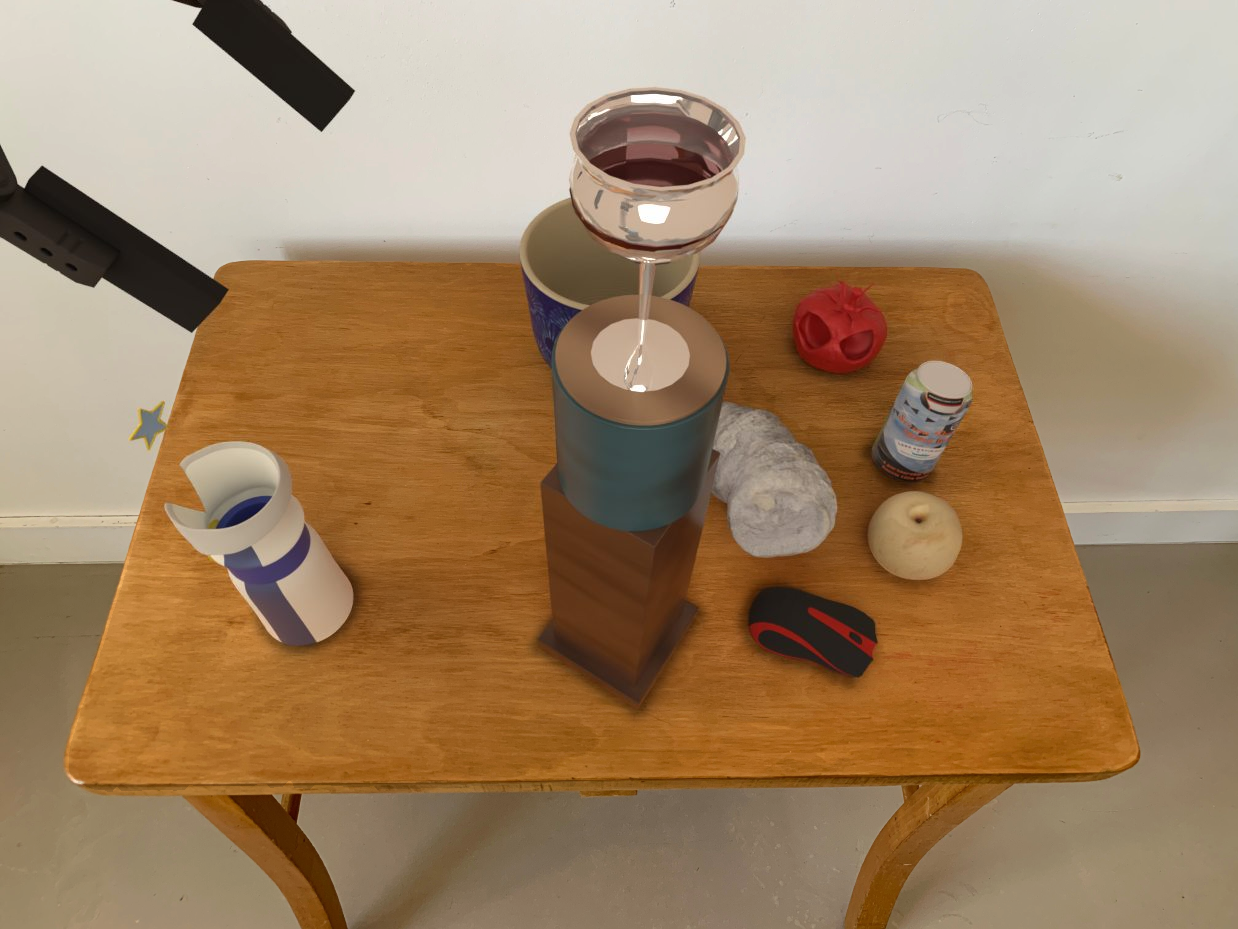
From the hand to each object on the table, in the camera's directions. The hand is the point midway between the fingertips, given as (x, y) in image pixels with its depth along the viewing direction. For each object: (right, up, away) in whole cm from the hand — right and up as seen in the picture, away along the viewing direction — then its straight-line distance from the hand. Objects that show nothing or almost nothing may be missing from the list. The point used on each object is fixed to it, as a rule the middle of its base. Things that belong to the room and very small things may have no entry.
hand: (282, 201), depth 34 cm
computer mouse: (+31, -26, +35) cm, 54 cm away
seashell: (+26, -14, +43) cm, 52 cm away
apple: (+41, -20, +40) cm, 60 cm away
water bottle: (-13, -24, +35) cm, 44 cm away
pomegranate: (+38, +1, +54) cm, 66 cm away
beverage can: (+43, -11, +46) cm, 64 cm away
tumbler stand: (+14, -26, +35) cm, 45 cm away
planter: (+13, 0, +53) cm, 54 cm away
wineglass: (+15, -6, +6) cm, 18 cm away
